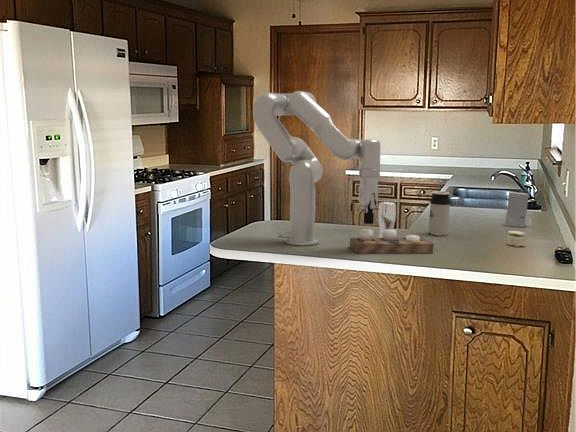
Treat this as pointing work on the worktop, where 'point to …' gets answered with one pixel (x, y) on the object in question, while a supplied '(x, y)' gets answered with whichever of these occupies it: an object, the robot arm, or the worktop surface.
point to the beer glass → (386, 216)
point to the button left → (366, 235)
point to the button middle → (389, 235)
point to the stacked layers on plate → (516, 238)
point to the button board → (391, 246)
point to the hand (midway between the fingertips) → (368, 223)
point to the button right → (412, 238)
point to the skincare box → (516, 209)
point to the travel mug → (439, 213)
